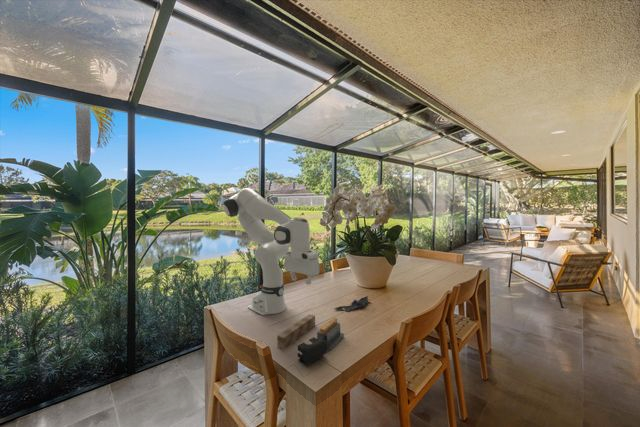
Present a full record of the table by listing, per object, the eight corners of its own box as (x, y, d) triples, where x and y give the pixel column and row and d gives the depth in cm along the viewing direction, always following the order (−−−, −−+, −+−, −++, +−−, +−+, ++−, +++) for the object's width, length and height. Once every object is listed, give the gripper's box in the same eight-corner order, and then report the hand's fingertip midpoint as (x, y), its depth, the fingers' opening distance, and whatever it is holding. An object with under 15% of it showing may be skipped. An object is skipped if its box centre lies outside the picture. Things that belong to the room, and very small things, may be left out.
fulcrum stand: (313, 345, 111) (313, 327, 111) (328, 332, 122) (328, 315, 122) (329, 350, 107) (329, 332, 106) (343, 336, 118) (343, 319, 117)
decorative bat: (345, 309, 138) (332, 305, 146) (346, 317, 138) (333, 312, 146) (379, 295, 157) (366, 292, 165) (380, 302, 157) (367, 299, 165)
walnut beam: (283, 349, 109) (283, 337, 108) (277, 347, 110) (277, 335, 110) (314, 325, 129) (314, 315, 129) (309, 324, 131) (309, 314, 131)
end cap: (309, 369, 95) (308, 351, 95) (296, 361, 100) (296, 344, 100) (327, 358, 102) (327, 341, 102) (315, 350, 107) (315, 334, 107)
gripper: (280, 251, 124) (281, 279, 125) (311, 256, 111) (312, 288, 111) (290, 249, 129) (291, 276, 130) (321, 254, 115) (322, 284, 116)
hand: (301, 282), depth 120 cm, fingers open, 8 cm apart
